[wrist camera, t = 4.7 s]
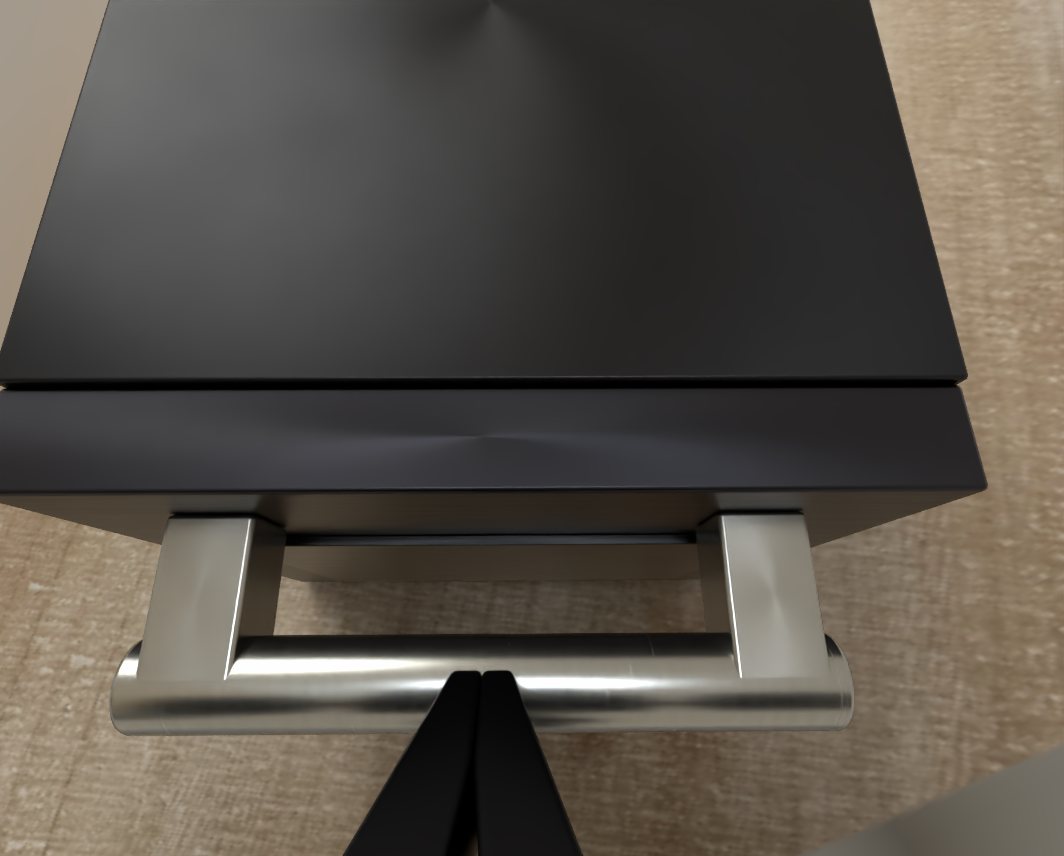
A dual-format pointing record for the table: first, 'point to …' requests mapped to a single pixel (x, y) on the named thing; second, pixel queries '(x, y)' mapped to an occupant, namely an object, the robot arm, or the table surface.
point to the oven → (483, 201)
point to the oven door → (484, 538)
